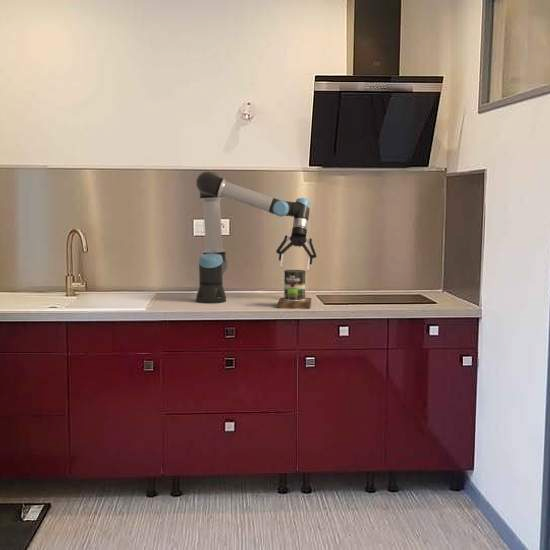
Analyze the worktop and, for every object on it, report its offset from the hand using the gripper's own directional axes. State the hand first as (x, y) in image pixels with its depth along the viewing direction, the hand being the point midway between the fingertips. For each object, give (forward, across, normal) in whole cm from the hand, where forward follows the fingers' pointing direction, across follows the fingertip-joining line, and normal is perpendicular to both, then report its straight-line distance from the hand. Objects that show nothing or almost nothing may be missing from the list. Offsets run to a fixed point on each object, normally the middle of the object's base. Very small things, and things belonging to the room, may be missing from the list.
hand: (294, 268), depth 360 cm
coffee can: (+18, -3, +10) cm, 21 cm away
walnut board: (+21, -3, +9) cm, 23 cm away
